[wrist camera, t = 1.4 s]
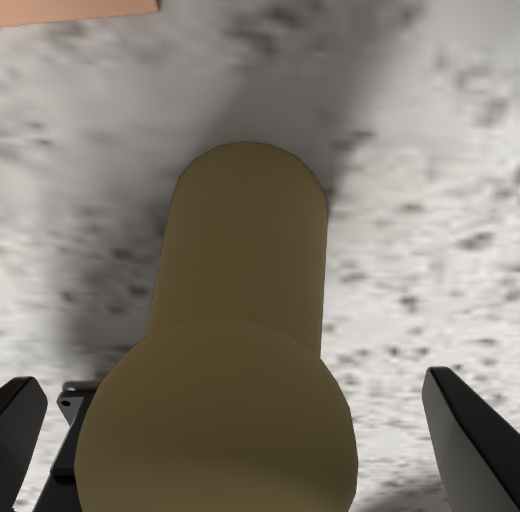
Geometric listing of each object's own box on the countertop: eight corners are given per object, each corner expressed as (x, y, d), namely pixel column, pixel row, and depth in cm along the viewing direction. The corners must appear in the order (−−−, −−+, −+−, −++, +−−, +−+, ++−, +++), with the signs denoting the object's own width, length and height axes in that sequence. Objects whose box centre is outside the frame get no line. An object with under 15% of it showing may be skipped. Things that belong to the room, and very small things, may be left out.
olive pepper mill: (157, 144, 14) (-72, 442, 5) (332, 138, 14) (443, 447, 4) (183, 282, 17) (78, 611, 8) (324, 280, 17) (379, 621, 8)
